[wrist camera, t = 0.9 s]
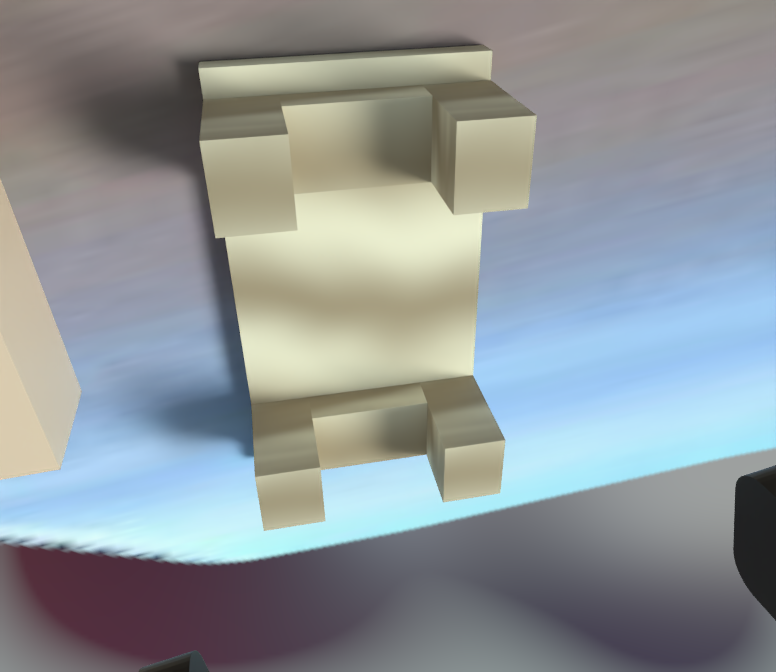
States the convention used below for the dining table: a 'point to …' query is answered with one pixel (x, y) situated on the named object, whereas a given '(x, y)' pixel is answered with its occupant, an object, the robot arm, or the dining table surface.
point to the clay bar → (30, 364)
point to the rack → (361, 257)
